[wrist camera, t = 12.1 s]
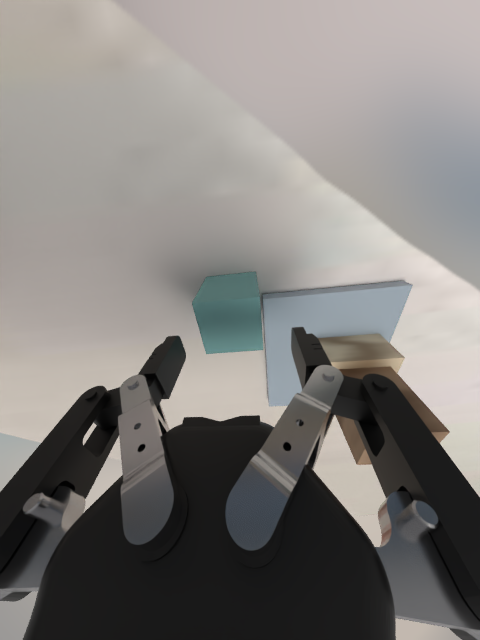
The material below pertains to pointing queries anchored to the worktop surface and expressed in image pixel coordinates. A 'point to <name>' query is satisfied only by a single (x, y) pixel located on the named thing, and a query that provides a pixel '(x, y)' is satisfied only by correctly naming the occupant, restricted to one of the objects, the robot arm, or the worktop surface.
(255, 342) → the block teal
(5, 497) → the robot arm
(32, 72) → the worktop surface
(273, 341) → the board
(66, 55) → the worktop surface
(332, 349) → the base block
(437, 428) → the block walnut
